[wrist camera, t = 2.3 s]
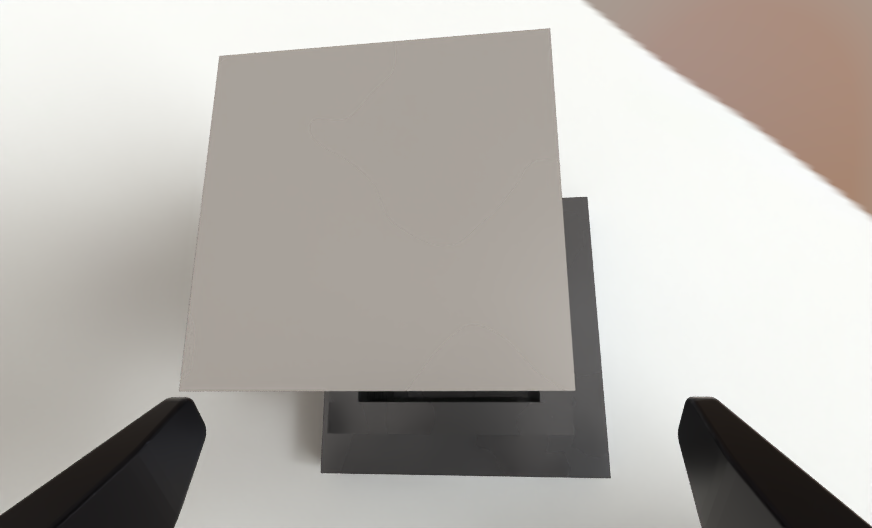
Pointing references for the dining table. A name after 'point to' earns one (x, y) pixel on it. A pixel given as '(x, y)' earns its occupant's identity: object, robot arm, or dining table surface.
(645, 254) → the dining table surface
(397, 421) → the stand
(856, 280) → the dining table surface
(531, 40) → the post
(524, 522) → the dining table surface
